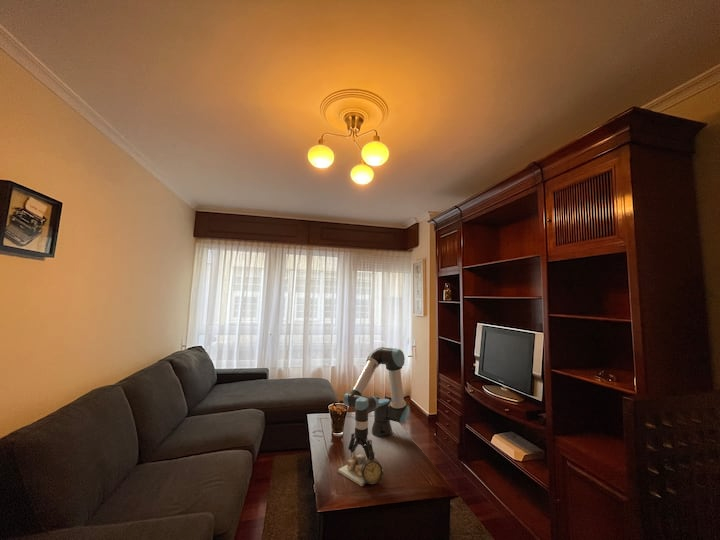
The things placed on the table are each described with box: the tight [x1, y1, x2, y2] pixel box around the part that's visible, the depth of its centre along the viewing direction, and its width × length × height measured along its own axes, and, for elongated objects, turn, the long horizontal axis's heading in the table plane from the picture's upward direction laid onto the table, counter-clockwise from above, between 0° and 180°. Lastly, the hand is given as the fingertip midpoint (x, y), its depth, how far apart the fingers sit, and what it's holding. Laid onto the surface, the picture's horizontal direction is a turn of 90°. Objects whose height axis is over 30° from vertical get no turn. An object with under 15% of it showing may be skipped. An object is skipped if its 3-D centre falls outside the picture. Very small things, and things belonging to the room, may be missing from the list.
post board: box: [337, 456, 384, 487], centre depth 163 cm, size 18×18×8 cm
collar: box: [346, 453, 367, 476], centre depth 163 cm, size 11×11×4 cm
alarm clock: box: [361, 450, 384, 486], centre depth 153 cm, size 11×5×16 cm, turn 103°
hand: (360, 468), depth 163 cm, fingers closed on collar, 11 cm apart
